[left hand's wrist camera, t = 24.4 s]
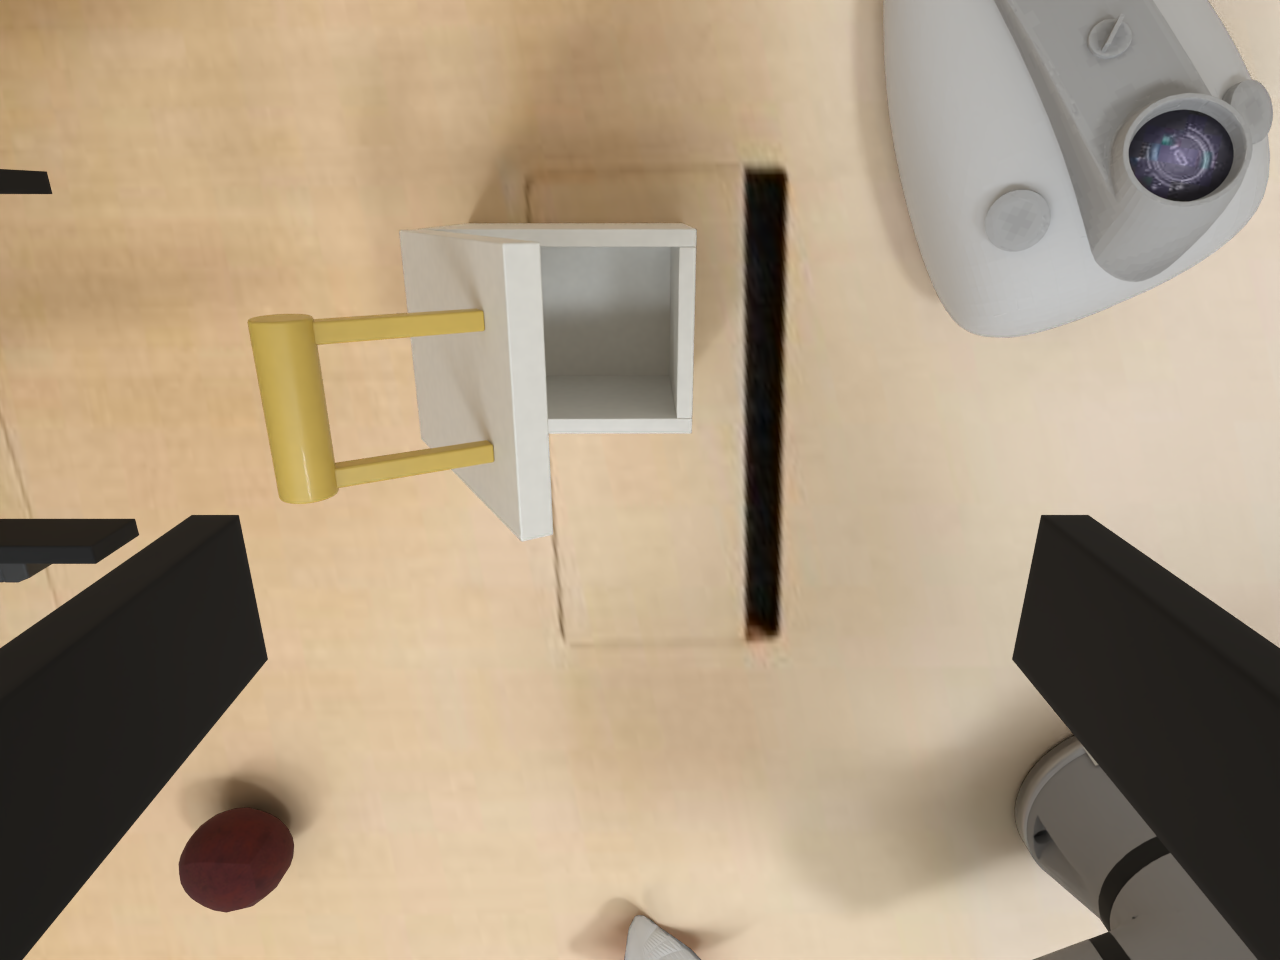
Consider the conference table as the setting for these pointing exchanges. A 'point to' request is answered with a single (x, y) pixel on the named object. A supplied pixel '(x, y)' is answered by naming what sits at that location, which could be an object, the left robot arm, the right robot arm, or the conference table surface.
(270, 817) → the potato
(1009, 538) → the conference table surface
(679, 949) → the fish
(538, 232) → the chest
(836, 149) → the conference table surface
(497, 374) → the lid
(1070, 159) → the projector
